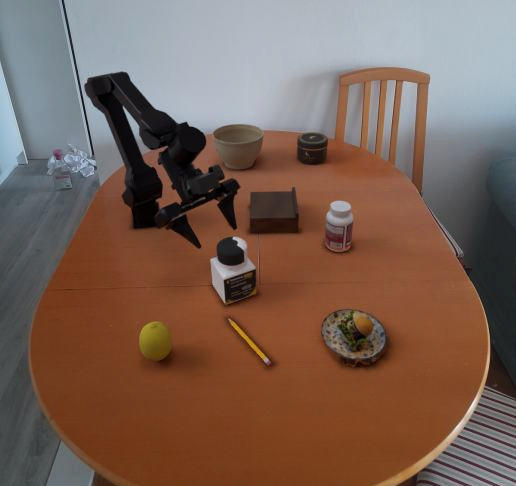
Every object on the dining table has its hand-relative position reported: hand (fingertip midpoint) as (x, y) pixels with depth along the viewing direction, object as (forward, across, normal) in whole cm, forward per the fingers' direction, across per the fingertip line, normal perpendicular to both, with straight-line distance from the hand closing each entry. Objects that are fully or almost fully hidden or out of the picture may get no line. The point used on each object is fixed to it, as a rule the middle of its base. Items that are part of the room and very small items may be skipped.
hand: (218, 238), depth 91 cm
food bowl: (+29, +7, -13) cm, 32 cm away
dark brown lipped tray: (+1, +25, +14) cm, 29 cm away
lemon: (+14, -21, +2) cm, 25 cm away
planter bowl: (-21, +39, +36) cm, 58 cm away
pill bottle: (+15, +28, +1) cm, 31 cm away
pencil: (+20, -7, -4) cm, 21 cm away
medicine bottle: (+11, 0, +5) cm, 12 cm away
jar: (-11, +59, +26) cm, 65 cm away
